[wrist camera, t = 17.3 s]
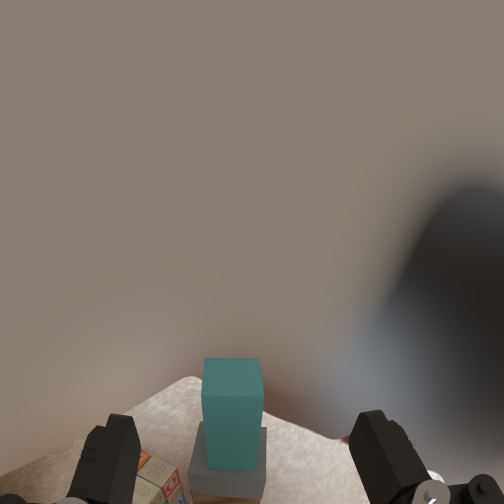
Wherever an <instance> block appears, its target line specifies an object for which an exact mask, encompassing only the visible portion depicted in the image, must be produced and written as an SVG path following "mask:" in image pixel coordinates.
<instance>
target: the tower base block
mask: <svg viewBox="0 0 504 504" xmlns="http://www.w3.org/2000/svg"><path fill="white" fill-rule="evenodd" d="M191 494H192V499H193V503H194V504H260V500H261V499H249V498H235V497H224V496H215V495H207V494H200V493H193V492H192V491H191Z"/></svg>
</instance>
